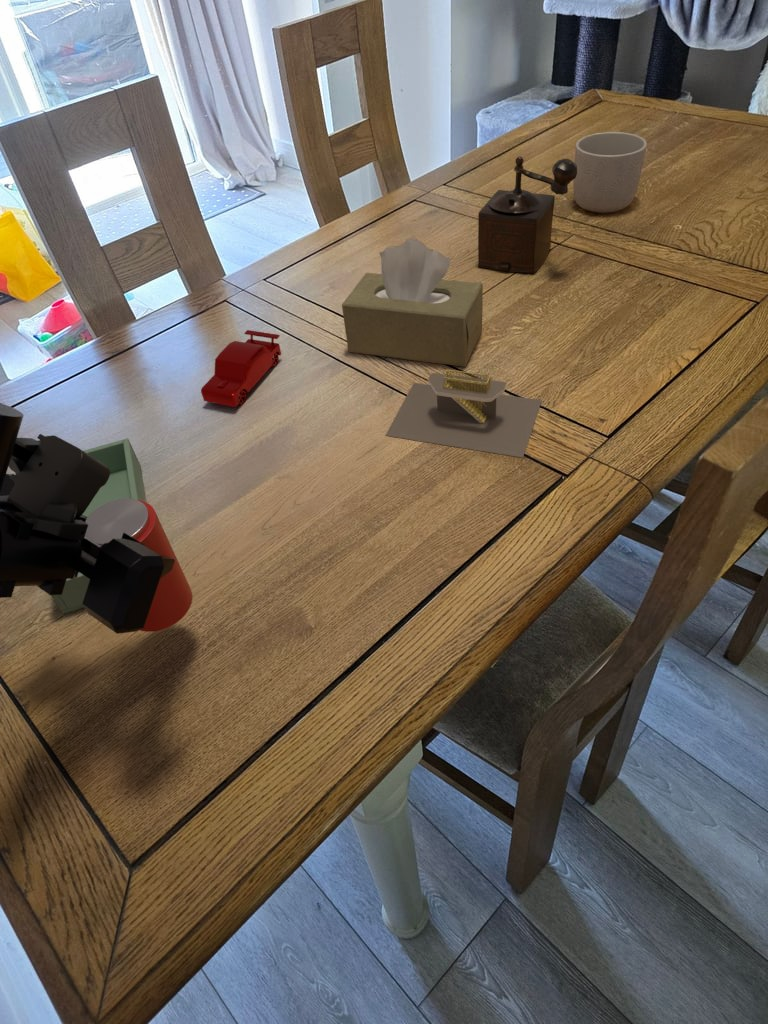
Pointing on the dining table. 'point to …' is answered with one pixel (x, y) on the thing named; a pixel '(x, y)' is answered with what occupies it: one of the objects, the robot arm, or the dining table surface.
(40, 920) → the dining table surface
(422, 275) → the tissue box
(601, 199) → the planter
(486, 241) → the manual coffee grinder
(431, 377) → the platform
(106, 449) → the bin
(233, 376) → the toy car
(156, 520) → the can
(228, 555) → the dining table surface
